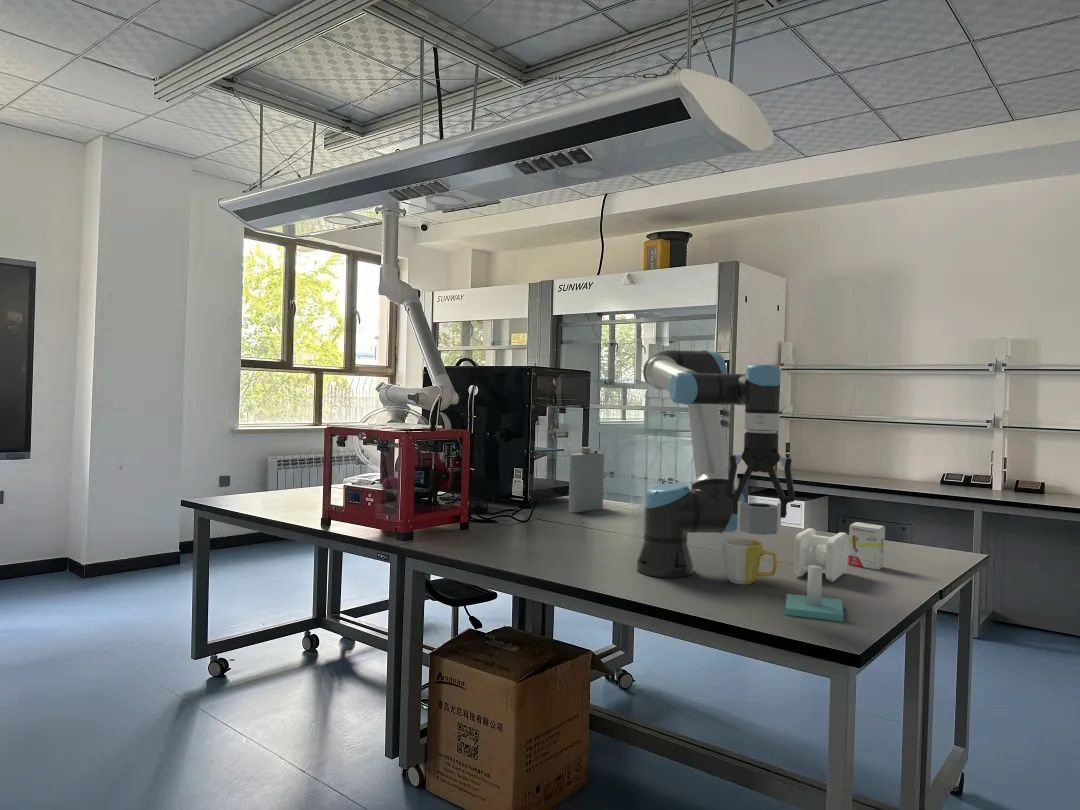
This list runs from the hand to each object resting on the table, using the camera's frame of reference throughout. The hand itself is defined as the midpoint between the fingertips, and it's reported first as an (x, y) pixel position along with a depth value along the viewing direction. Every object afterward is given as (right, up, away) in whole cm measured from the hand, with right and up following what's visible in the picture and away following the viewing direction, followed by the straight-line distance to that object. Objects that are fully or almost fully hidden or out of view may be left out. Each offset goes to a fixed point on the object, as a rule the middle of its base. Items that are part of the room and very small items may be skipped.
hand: (758, 529), depth 172 cm
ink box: (+42, -17, +41) cm, 61 cm away
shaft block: (+12, -18, -3) cm, 22 cm away
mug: (+3, -17, +20) cm, 26 cm away
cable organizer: (+25, -17, +29) cm, 42 cm away
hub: (0, 0, 0) cm, 0 cm away
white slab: (-33, -13, +123) cm, 128 cm away
